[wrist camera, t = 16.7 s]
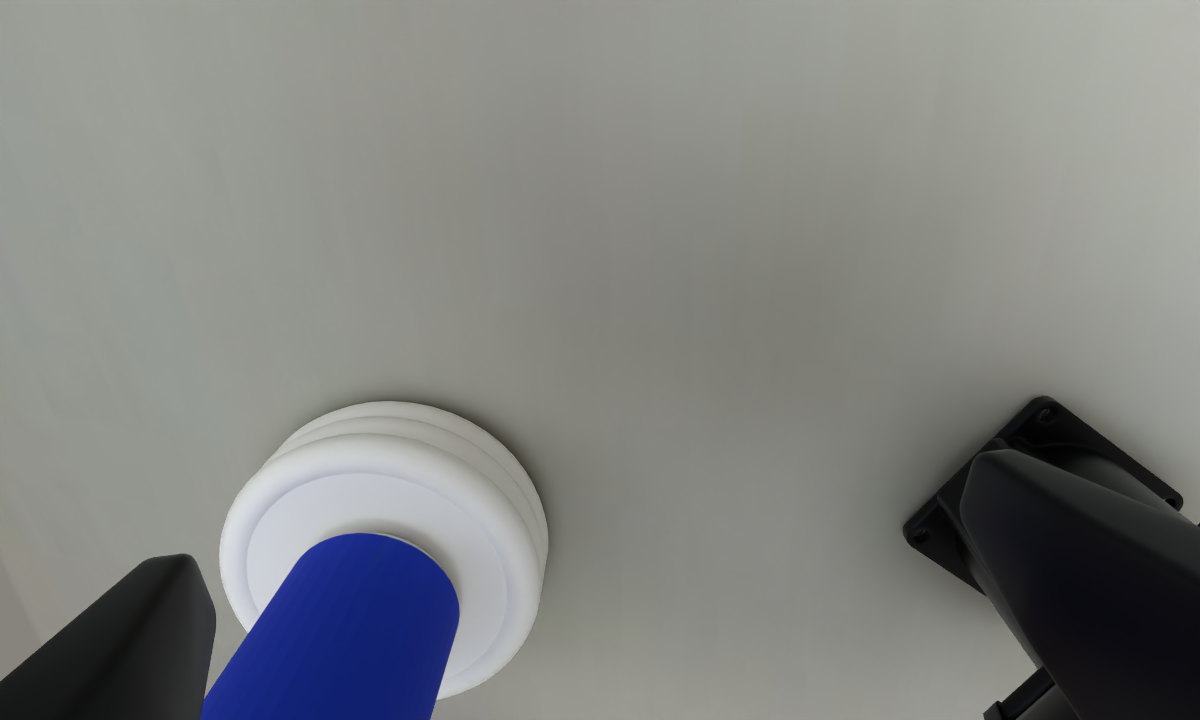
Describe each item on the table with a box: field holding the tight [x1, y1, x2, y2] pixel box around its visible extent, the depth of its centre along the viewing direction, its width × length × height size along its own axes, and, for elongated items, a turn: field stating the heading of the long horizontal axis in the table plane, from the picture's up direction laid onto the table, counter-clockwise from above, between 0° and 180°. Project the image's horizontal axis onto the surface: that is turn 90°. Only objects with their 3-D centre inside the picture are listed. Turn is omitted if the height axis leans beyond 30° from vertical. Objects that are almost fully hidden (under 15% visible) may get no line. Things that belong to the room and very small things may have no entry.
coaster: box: [219, 401, 548, 700], centre depth 24 cm, size 10×10×4 cm
